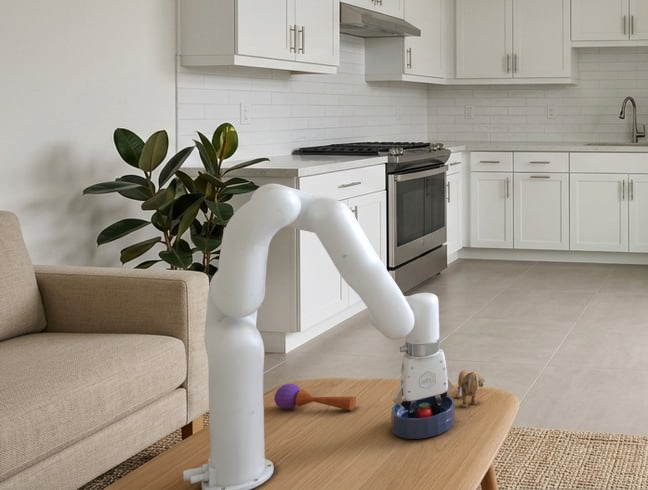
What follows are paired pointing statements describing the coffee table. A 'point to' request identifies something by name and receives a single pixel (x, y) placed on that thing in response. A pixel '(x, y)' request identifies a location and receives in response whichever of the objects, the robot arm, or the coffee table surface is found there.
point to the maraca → (308, 398)
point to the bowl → (423, 420)
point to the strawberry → (424, 410)
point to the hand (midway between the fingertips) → (424, 422)
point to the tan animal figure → (469, 385)
